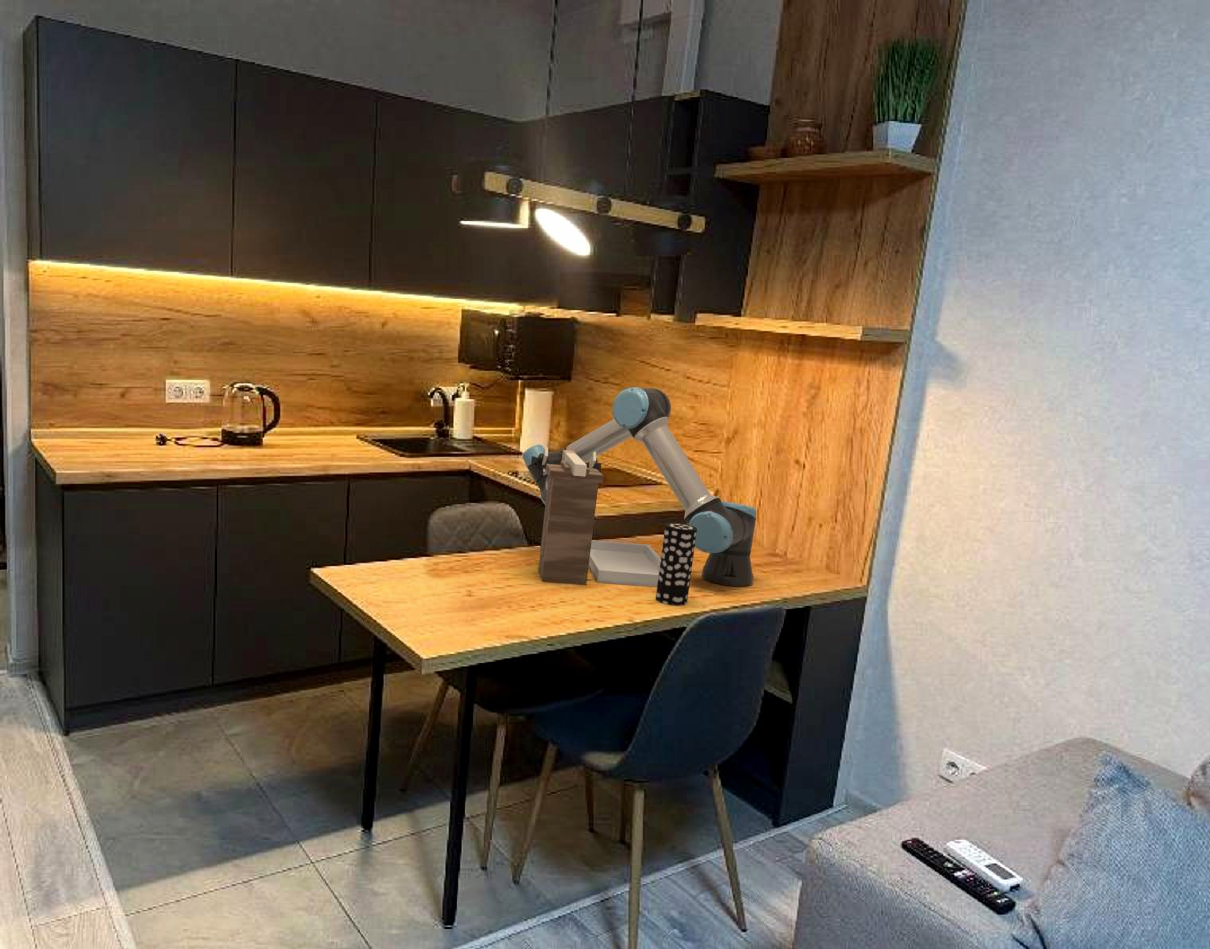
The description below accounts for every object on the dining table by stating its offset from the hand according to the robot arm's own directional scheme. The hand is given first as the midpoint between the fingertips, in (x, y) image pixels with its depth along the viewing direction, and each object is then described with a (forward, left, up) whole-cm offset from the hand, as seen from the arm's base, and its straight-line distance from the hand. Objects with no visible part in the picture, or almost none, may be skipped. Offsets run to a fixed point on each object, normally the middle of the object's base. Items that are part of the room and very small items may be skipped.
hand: (570, 453), depth 258 cm
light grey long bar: (-6, +3, -3) cm, 8 cm away
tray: (-5, -21, -33) cm, 39 cm away
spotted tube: (-36, -11, -33) cm, 50 cm away
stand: (-9, +5, -33) cm, 34 cm away
